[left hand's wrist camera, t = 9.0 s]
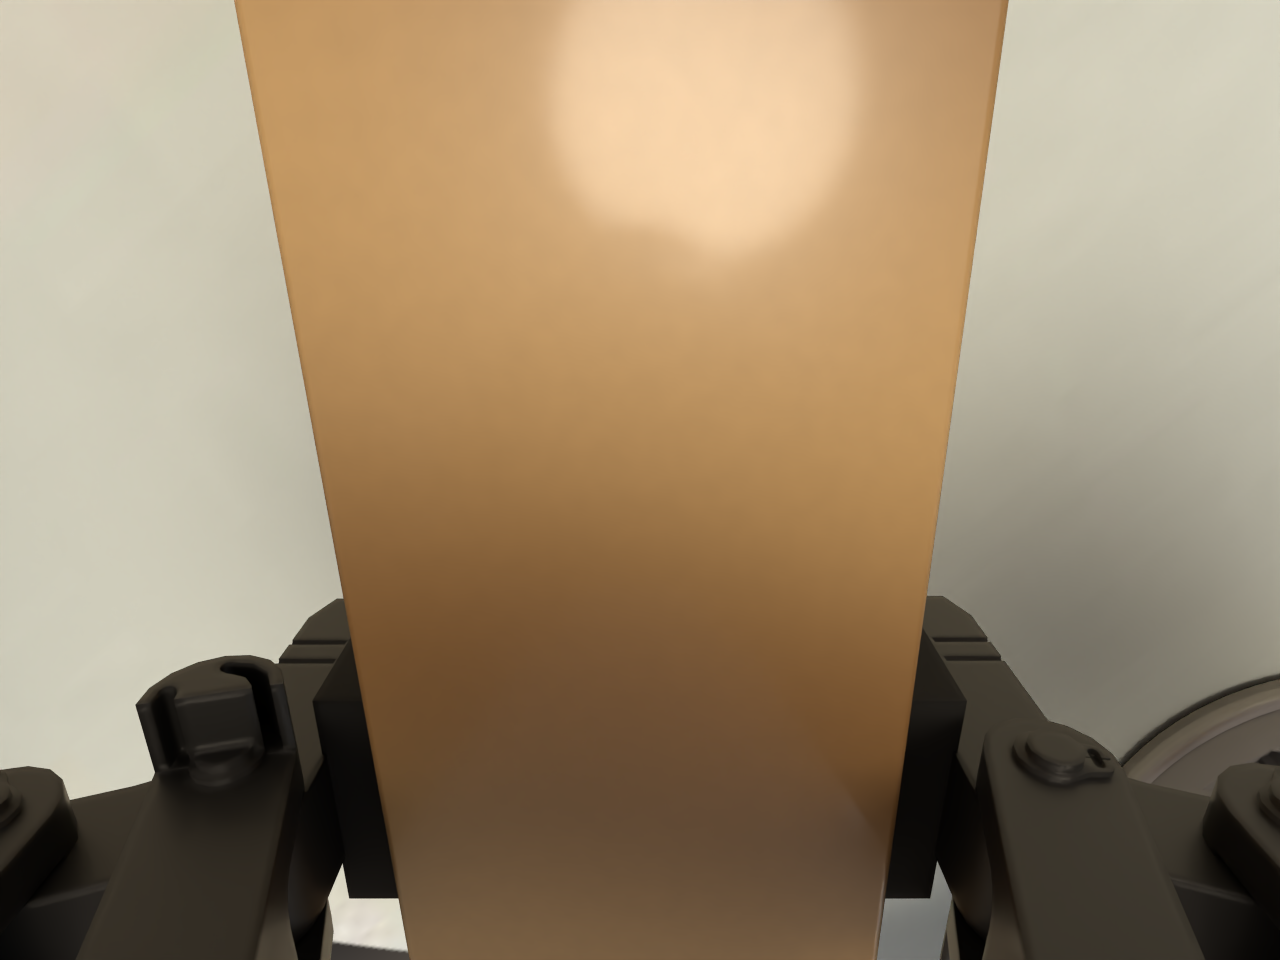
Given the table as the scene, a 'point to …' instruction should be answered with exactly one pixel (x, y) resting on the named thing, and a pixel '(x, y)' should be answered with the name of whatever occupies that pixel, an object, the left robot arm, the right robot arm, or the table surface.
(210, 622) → the table surface
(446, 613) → the bar
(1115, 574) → the table surface
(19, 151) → the table surface
